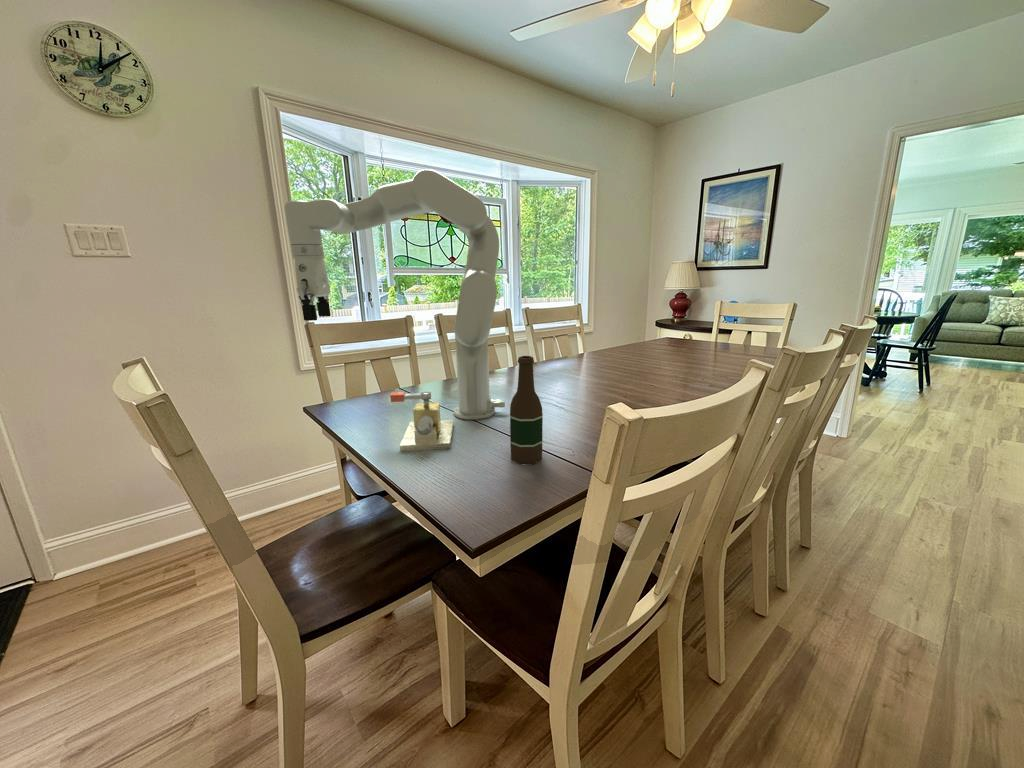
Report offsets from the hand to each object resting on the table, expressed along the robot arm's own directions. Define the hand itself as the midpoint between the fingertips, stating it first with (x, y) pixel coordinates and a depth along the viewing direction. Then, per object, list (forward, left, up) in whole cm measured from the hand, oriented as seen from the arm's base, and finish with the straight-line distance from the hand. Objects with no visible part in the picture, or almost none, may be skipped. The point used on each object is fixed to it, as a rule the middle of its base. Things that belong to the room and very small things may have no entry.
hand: (318, 318), depth 109 cm
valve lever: (-26, +15, -20) cm, 36 cm away
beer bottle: (-54, +30, -30) cm, 69 cm away
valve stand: (-30, +15, -30) cm, 45 cm away
